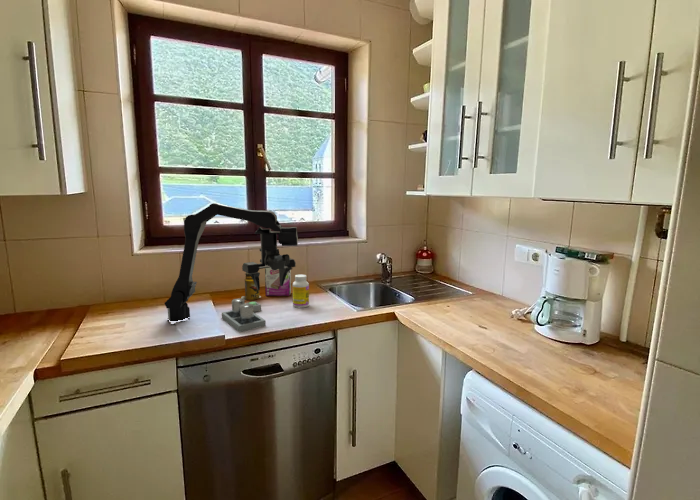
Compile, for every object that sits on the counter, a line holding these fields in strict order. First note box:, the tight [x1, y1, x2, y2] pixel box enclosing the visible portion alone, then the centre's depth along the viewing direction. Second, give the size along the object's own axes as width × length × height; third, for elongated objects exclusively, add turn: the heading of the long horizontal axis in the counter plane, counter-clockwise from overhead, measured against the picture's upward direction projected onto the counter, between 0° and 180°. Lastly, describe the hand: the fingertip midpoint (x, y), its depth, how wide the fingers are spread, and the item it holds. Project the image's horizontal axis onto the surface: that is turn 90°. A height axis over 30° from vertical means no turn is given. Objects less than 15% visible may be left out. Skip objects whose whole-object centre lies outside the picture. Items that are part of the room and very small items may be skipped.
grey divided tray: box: [221, 310, 267, 333], centre depth 137 cm, size 10×17×3 cm, turn 38°
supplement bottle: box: [292, 273, 310, 309], centre depth 157 cm, size 7×7×13 cm
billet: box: [240, 304, 255, 325], centre depth 134 cm, size 4×4×7 cm
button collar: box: [245, 301, 262, 313], centre depth 150 cm, size 5×5×3 cm
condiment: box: [241, 272, 262, 301], centre depth 165 cm, size 7×8×12 cm
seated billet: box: [231, 297, 246, 318], centre depth 140 cm, size 4×4×7 cm
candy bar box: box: [264, 265, 292, 297], centre depth 172 cm, size 11×5×16 cm, turn 94°
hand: (270, 287), depth 140 cm, fingers open, 9 cm apart
